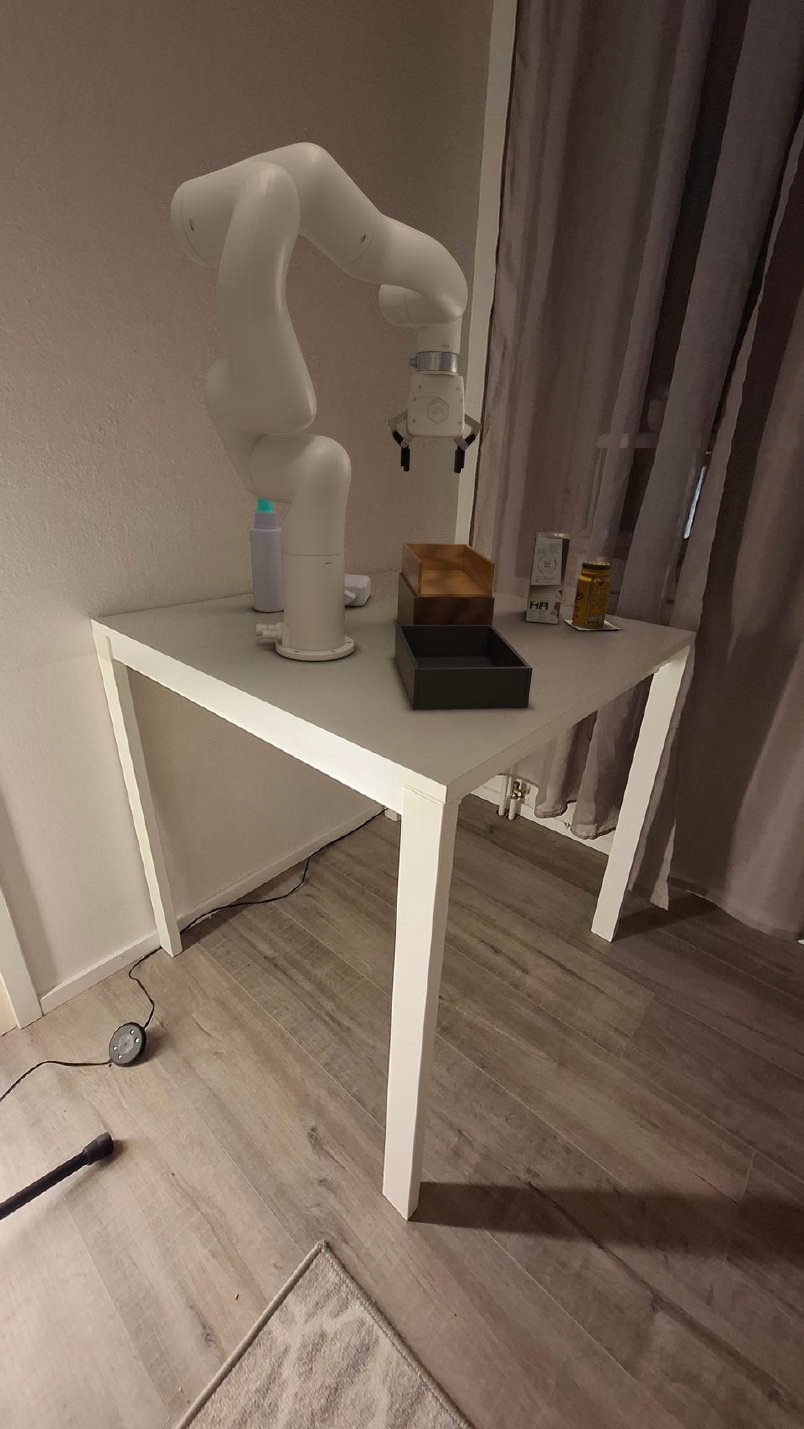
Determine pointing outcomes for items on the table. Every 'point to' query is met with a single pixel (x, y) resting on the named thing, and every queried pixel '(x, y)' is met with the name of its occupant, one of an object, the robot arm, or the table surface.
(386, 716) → the table surface
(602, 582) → the condiment
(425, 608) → the stand
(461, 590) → the pour box
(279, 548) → the spray bottle
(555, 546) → the coffee box
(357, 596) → the charger
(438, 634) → the basket
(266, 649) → the table surface
